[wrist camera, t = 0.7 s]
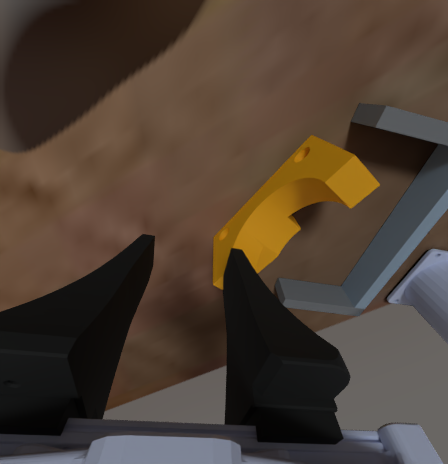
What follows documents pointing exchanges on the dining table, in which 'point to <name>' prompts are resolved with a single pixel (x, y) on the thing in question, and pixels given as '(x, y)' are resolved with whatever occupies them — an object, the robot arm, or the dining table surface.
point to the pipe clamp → (290, 202)
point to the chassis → (393, 230)
